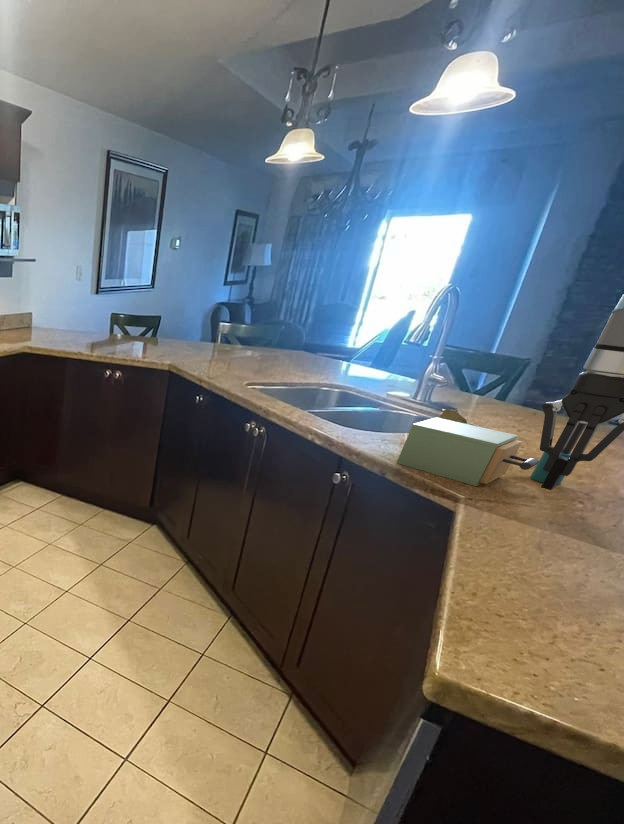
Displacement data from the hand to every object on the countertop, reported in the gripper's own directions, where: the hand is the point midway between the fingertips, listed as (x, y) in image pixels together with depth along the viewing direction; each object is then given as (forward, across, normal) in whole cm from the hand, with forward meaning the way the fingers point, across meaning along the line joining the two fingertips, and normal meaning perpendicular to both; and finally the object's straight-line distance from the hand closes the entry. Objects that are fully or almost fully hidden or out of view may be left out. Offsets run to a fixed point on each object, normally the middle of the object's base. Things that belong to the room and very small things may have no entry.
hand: (547, 487), depth 101 cm
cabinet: (+2, +16, 0) cm, 16 cm away
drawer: (+1, +12, 0) cm, 12 cm away
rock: (+2, +22, -20) cm, 30 cm away
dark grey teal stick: (+2, +2, -14) cm, 15 cm away
